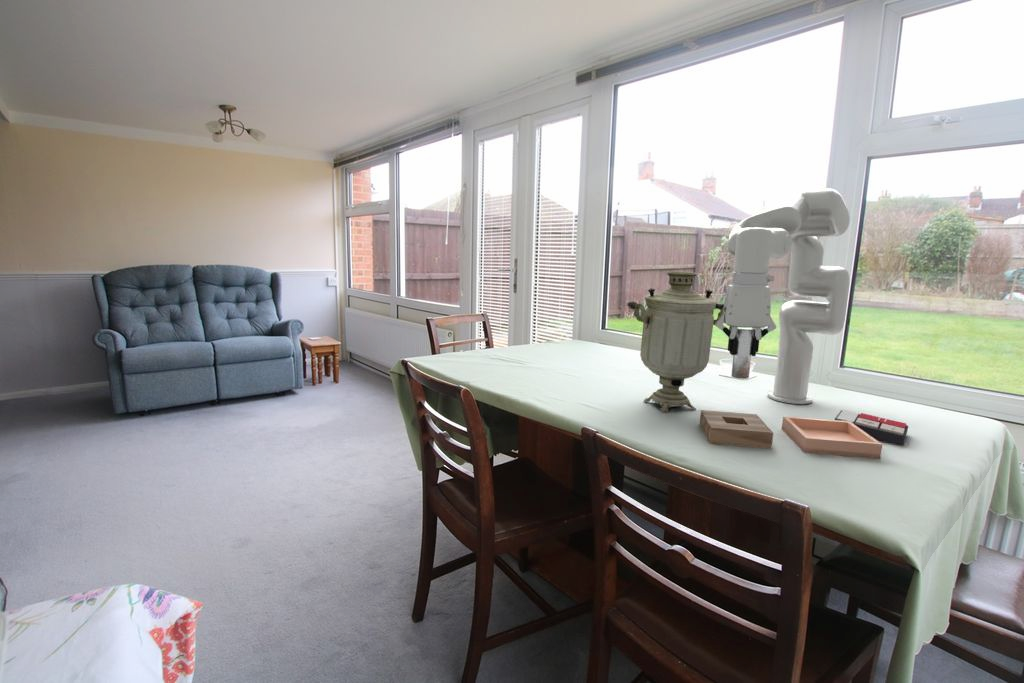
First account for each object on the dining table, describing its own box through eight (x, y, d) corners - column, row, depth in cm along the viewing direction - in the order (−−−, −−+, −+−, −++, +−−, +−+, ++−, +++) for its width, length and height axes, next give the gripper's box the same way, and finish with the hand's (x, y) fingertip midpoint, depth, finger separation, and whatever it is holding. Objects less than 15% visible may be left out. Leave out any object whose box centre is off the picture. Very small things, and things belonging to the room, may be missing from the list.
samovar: (706, 393, 165) (718, 271, 158) (733, 419, 140) (748, 275, 133) (615, 389, 168) (622, 269, 161) (624, 414, 142) (633, 272, 135)
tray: (781, 428, 133) (783, 416, 132) (847, 434, 130) (849, 421, 130) (804, 452, 118) (806, 438, 117) (880, 458, 115) (882, 444, 114)
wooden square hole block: (699, 424, 135) (700, 410, 135) (754, 428, 133) (756, 414, 132) (709, 443, 122) (711, 427, 121) (771, 448, 119) (773, 432, 119)
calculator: (905, 433, 122) (834, 416, 132) (901, 450, 123) (831, 431, 133) (909, 422, 130) (841, 407, 140) (905, 438, 131) (838, 421, 141)
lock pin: (729, 374, 127) (734, 327, 125) (746, 375, 126) (751, 328, 124) (733, 378, 123) (738, 330, 121) (750, 379, 123) (755, 330, 120)
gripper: (782, 280, 122) (773, 353, 126) (710, 278, 126) (703, 349, 129) (793, 282, 115) (783, 359, 119) (716, 280, 118) (709, 356, 122)
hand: (742, 353), depth 124 cm, fingers closed on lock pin, 4 cm apart
